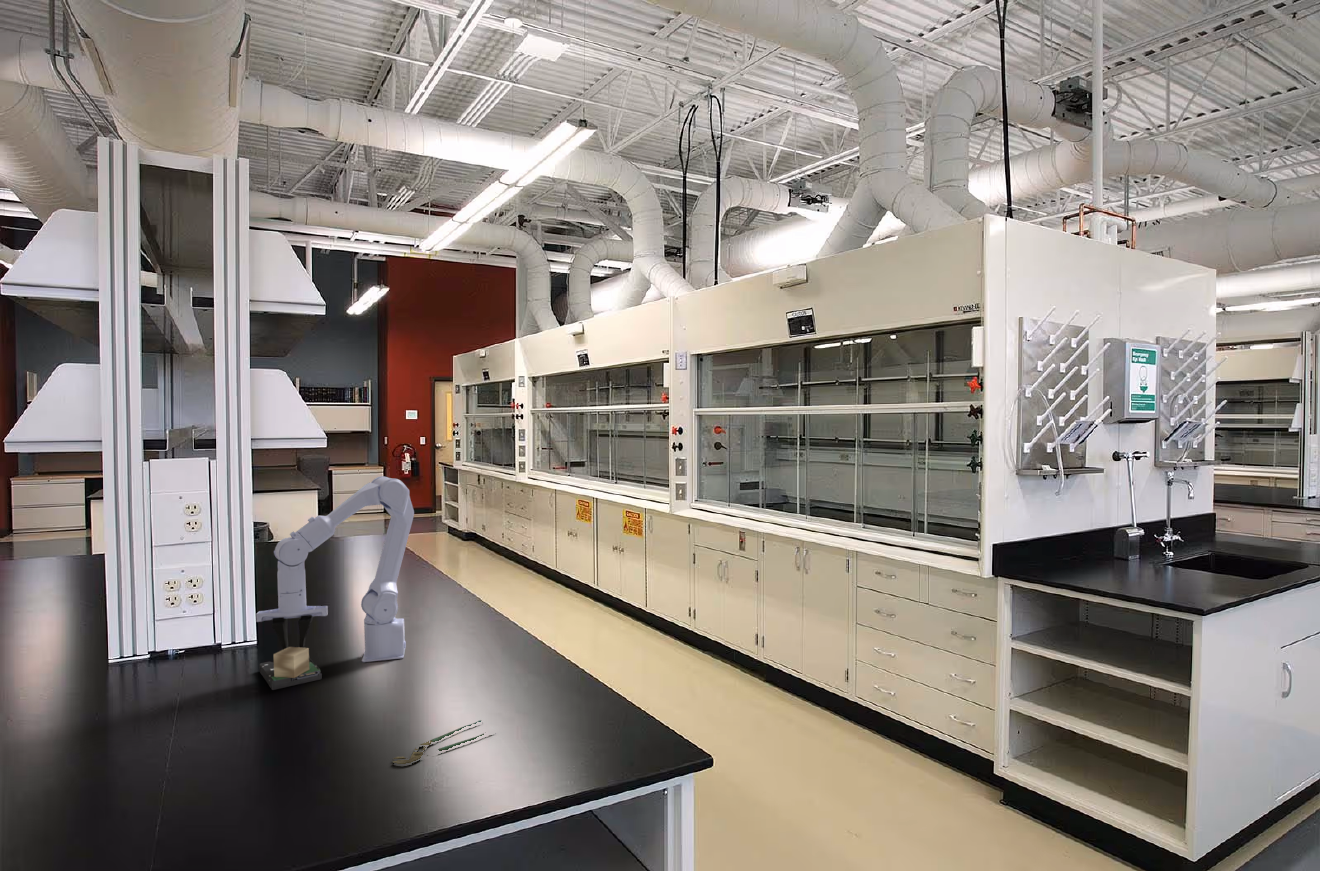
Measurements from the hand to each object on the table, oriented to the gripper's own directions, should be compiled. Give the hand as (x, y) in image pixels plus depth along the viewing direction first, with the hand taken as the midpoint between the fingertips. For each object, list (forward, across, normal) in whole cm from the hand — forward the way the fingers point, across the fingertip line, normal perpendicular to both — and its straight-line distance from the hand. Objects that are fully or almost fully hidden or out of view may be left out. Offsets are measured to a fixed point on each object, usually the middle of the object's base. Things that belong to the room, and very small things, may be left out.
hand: (293, 649), depth 165 cm
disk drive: (+7, +1, 0) cm, 7 cm away
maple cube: (+4, 0, +4) cm, 6 cm away
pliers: (+6, -33, +47) cm, 58 cm away
